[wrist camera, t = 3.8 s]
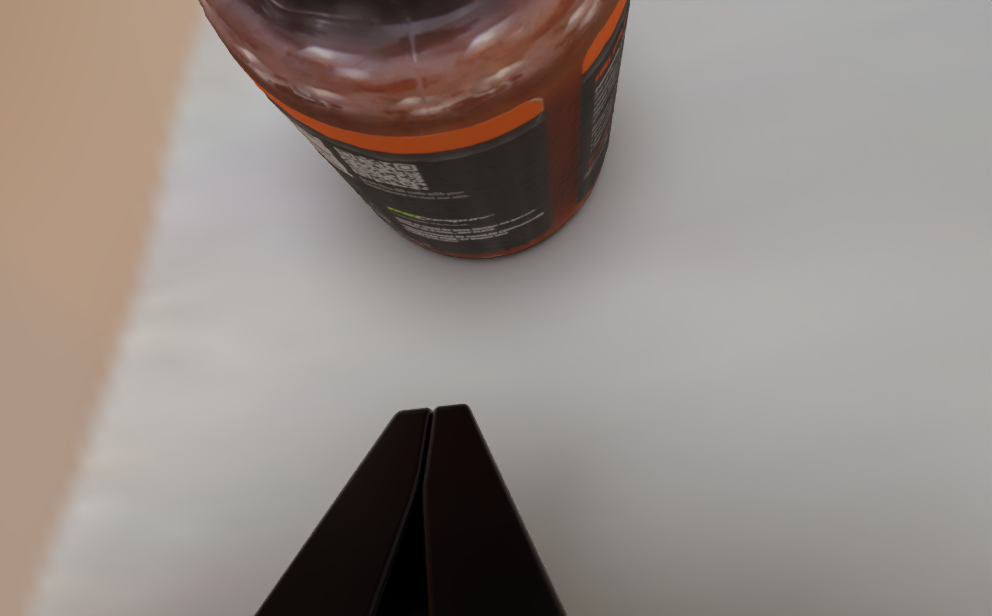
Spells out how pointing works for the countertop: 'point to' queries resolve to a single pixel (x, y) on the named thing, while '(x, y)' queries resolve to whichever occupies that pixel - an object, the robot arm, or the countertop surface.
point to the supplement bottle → (444, 105)
